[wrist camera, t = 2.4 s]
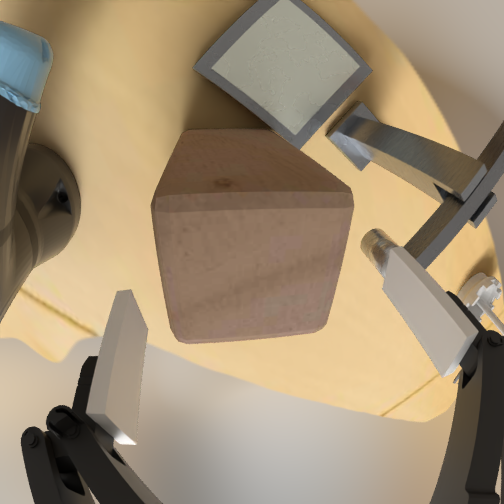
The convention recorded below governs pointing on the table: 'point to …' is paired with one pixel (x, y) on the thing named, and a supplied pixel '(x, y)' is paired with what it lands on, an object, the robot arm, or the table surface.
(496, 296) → the flag stand
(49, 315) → the table surface
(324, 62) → the press
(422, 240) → the lever
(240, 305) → the wooden block
